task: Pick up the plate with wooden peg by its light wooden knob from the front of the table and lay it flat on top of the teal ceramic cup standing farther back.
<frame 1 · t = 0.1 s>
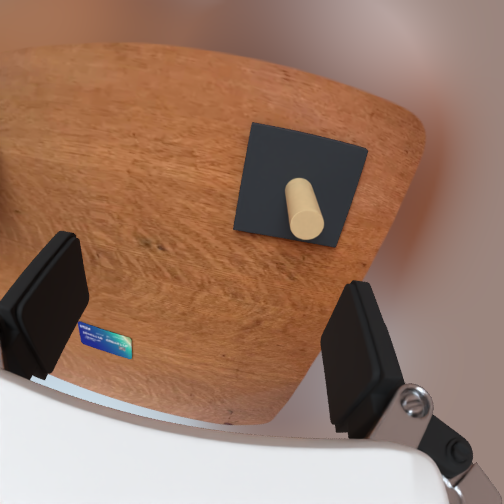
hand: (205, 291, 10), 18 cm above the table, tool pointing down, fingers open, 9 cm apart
credit card: (105, 340, 41), on the table
plate with wooden peg: (297, 187, 28), on the table
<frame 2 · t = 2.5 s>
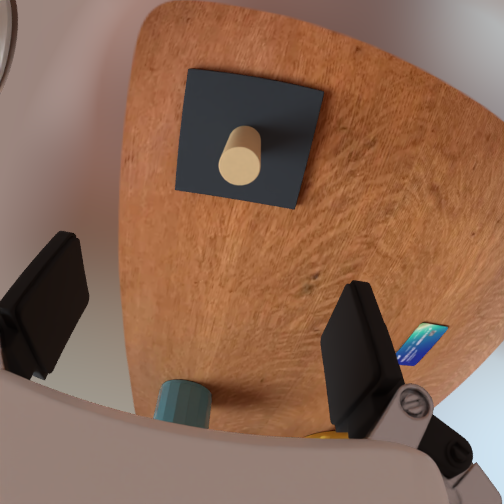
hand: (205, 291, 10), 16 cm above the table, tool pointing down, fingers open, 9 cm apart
credit card: (417, 344, 37), on the table
cup: (186, 393, 44), on the table
plate with wooden peg: (245, 138, 23), on the table
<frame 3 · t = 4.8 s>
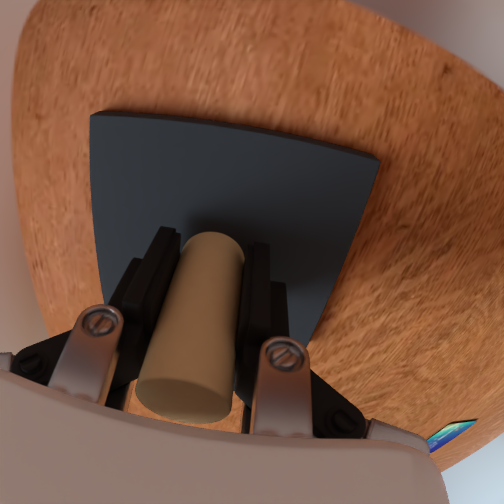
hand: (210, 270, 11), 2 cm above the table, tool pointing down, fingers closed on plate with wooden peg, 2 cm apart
credit card: (439, 438, 26), on the table
plate with wooden peg: (215, 246, 13), on the table, touching gripper
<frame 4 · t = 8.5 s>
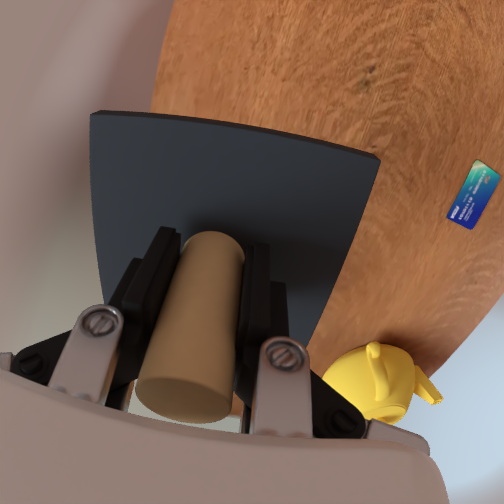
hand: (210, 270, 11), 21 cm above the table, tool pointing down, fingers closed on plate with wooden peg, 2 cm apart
teapot: (375, 361, 49), on the table
credit card: (473, 195, 31), on the table
plate with wooden peg: (215, 246, 13), point 20 cm above the table, touching gripper
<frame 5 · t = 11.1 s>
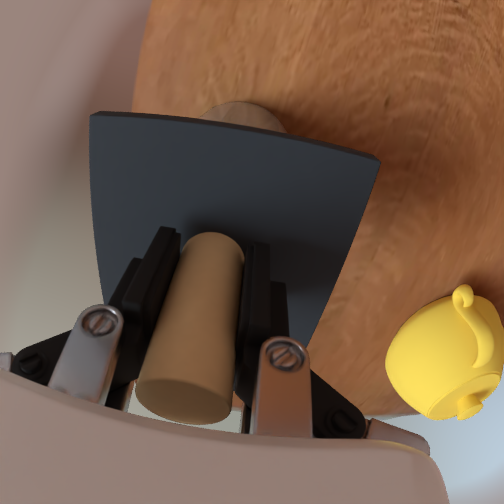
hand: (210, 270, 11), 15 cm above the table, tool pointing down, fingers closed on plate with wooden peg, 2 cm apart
teapot: (450, 323, 34), on the table
cup: (238, 151, 24), on the table
plate with wooden peg: (215, 247, 13), point 13 cm above the table, touching gripper
when the fingers open (11 cm above the table, at t = 12.4 s): plate with wooden peg stays where it is, resting on cup.
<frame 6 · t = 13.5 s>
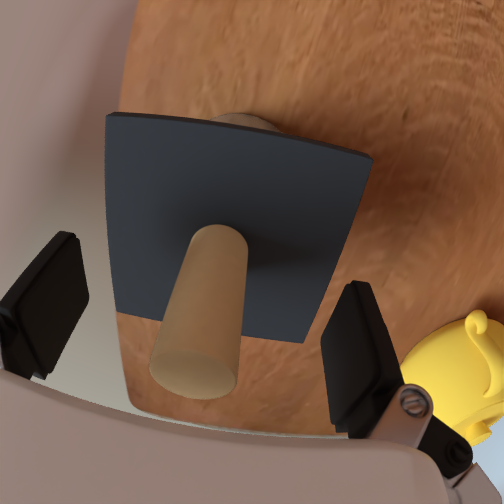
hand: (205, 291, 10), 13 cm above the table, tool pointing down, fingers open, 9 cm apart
teapot: (460, 345, 31), on the table
cup: (237, 170, 21), on the table
plate with wooden peg: (221, 239, 14), point 9 cm above the table, touching cup
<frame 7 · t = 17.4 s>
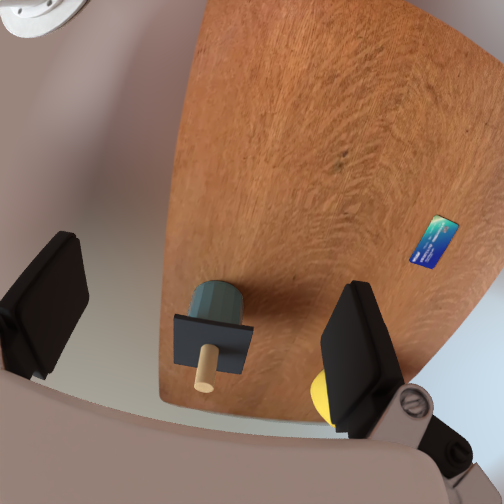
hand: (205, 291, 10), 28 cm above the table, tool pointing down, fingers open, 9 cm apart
teapot: (356, 371, 59), on the table
credit card: (433, 242, 42), on the table
cup: (217, 300, 49), on the table
plate with wooden peg: (210, 344, 41), point 9 cm above the table, touching cup
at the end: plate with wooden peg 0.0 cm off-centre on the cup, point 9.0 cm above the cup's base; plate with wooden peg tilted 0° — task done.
